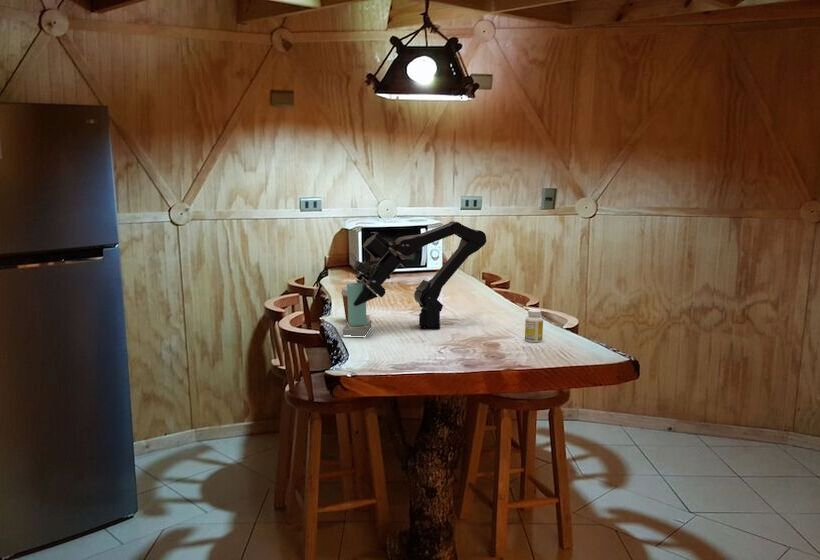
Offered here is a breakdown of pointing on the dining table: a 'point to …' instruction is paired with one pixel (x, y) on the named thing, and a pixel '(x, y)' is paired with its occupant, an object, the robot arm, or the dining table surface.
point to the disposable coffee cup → (345, 302)
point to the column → (355, 312)
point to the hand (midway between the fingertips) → (352, 303)
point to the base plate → (358, 328)
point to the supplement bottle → (534, 326)
